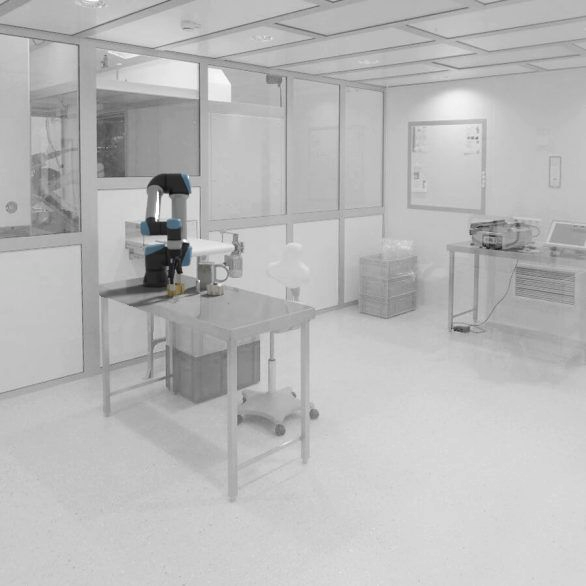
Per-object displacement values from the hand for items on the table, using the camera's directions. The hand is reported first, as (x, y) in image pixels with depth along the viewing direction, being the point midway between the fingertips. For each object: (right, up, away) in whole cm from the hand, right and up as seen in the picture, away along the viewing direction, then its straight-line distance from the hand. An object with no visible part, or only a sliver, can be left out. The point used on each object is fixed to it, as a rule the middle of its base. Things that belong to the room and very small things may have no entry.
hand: (175, 288), depth 351 cm
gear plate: (+17, -4, 0) cm, 17 cm away
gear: (+21, -3, -1) cm, 22 cm away
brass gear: (0, -4, +1) cm, 4 cm away
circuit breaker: (+15, 0, +19) cm, 24 cm away
